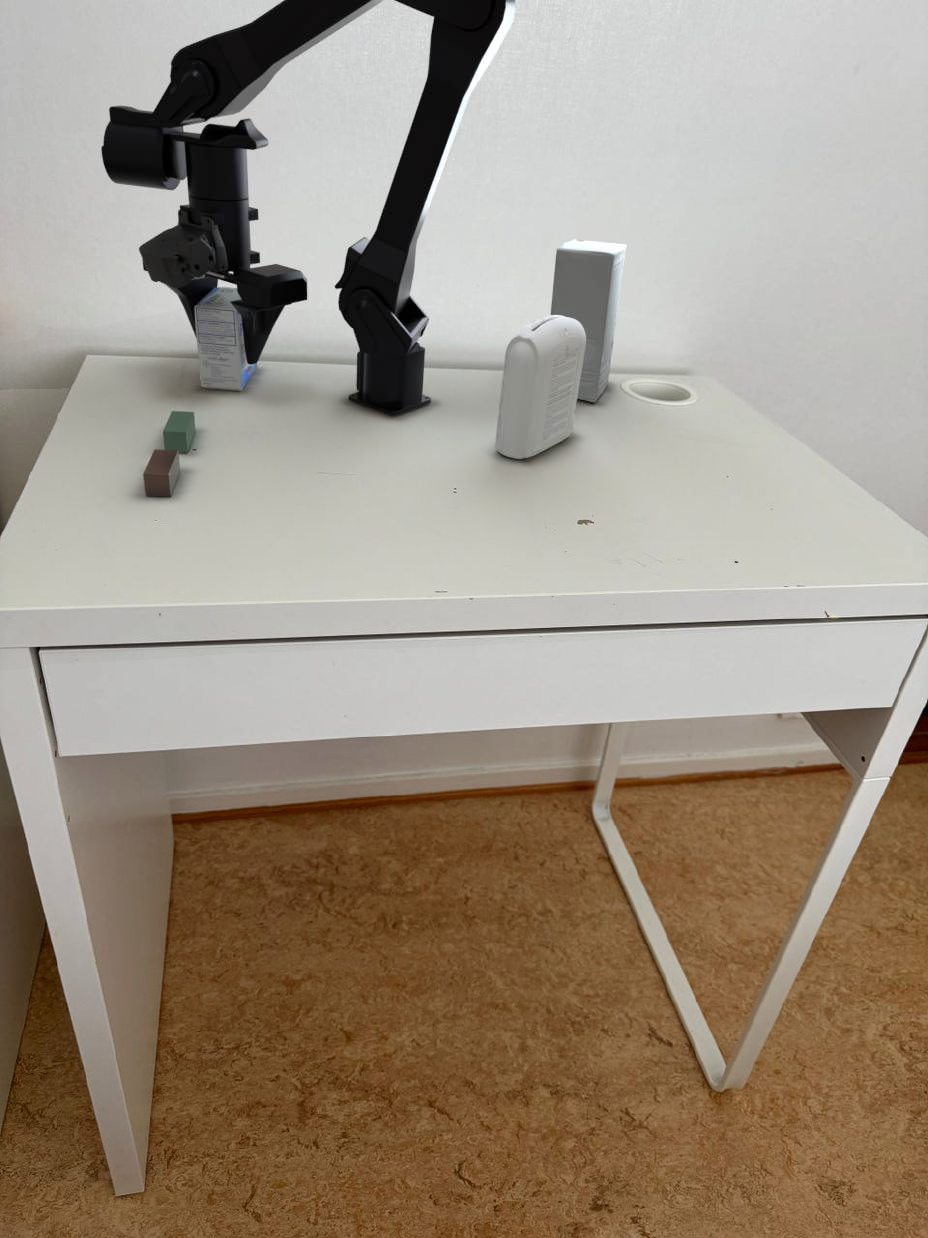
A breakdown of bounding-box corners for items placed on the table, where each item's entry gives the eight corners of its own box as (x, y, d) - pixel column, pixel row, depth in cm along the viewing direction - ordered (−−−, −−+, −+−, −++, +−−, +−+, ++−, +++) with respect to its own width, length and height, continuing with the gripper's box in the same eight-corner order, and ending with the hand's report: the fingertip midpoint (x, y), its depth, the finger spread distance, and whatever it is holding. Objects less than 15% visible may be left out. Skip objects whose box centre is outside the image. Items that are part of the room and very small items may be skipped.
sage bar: (187, 453, 82) (185, 431, 81) (164, 452, 82) (162, 430, 81) (195, 431, 86) (194, 411, 85) (173, 430, 86) (171, 410, 85)
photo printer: (541, 424, 95) (557, 303, 89) (577, 436, 93) (596, 313, 87) (487, 452, 88) (501, 322, 81) (525, 465, 86) (542, 333, 79)
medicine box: (242, 392, 95) (238, 308, 91) (199, 388, 95) (193, 303, 91) (258, 368, 102) (255, 288, 97) (217, 365, 102) (213, 284, 97)
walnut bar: (170, 497, 74) (168, 474, 73) (145, 496, 74) (142, 473, 73) (180, 471, 79) (178, 449, 77) (156, 470, 78) (154, 448, 77)
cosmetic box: (596, 404, 102) (621, 255, 93) (534, 393, 103) (554, 245, 95) (610, 383, 109) (634, 242, 100) (552, 372, 110) (571, 233, 102)
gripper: (87, 185, 87) (108, 348, 96) (219, 220, 79) (229, 395, 87) (180, 178, 95) (192, 329, 104) (310, 209, 87) (311, 371, 95)
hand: (227, 354), depth 97 cm, fingers closed on medicine box, 7 cm apart
